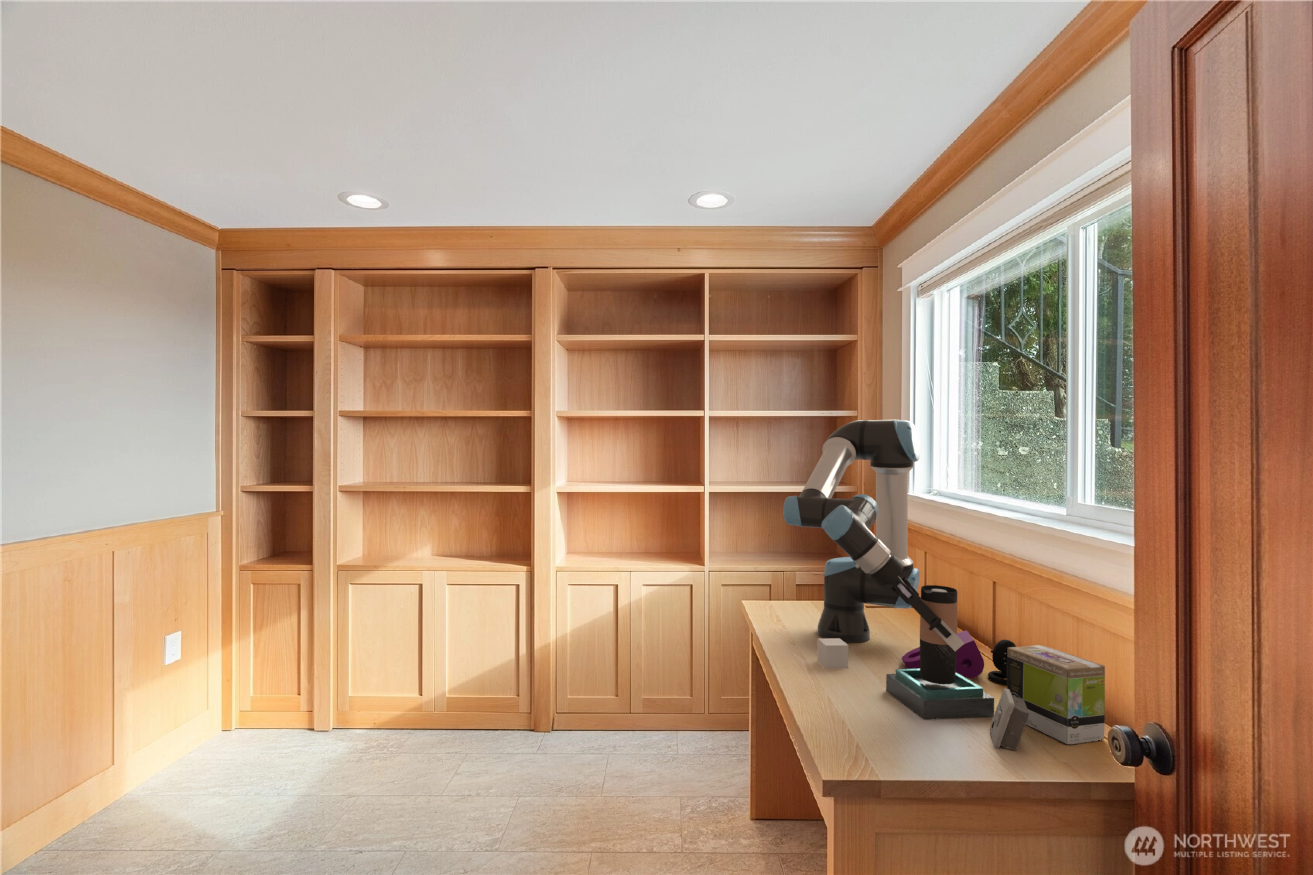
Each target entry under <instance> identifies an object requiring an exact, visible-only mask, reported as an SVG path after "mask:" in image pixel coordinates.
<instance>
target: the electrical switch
mask: <svg viewBox="0 0 1313 875" xmlns="http://www.w3.org/2000/svg"><path fill="white" fill-rule="evenodd" d="M1025 710H1026V711H1025ZM1028 716H1029V712H1028V709H1027V707H1026V704H1025V702H1024V700H1023V699H1020V698H1018V697H1016V696H1014V695H1011V693H1010V690H1009V689H1007V687H1005V688H1004V689H1003V691H1002V693H1001V695H1000V698H999V700H998V703H997V706H996V709H995V710H994V717H992V719H991V722H990V727H989V731H990V736H991V741H992V744H993V747H994V748H996V749H997V750H999V749H1000V747H1001V746H1002V747H1003V748H1005V749H1009V750H1011V751H1014V752H1016V751H1017V749H1018V746H1019V743H1020V741H1021V739H1022V735H1023V732H1024V729H1025V726H1026V722H1027V719H1028Z"/></svg>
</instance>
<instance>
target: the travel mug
mask: <svg viewBox="0 0 1313 875" xmlns="http://www.w3.org/2000/svg"><path fill="white" fill-rule="evenodd" d="M920 588H921V589H920V597H921V600H922V601H923V602H924V603H925V604H926V605H927V606H928V607H929V608H930V609H931V610H932V611H933V612H934V613H935V614H936V615H937V616H938V617H939V618H940V619H942V621H943V622H944V623H945V624H946V625H947V626H948V627H949V628H950V629H951V630H952V631H953V632H954V633H955V634H956V635H957V633H958V590H957V589H956V588H954V587H949V586H944V585H938V584H937V585H936V584H935V585H934V584H932V585H931V584H926V585H922V586H921V587H920ZM933 620H934V619H933ZM933 620H932V621H933ZM928 628H930V625H929V624H928V623H927V622H926V621H925V620H924V619H923V618H922V617H921V616H920V615H919V647H920V668H919V669H920V676H921V678H922V679H923V680H925V681H928V682H931V683H935V684H944V685H946V684H953V683H954V682H955V674H956V655H957V650H956V651H954V650H953V649H952V648H951V647H950V646H949V645H948V644H947V643H946V642H945V641H944V640H943V639H942V638H941V637H940V636H939V635H938V633H937V632H936V631H935V630H934V629H932V630H931V631H930V630H929V629H928Z"/></svg>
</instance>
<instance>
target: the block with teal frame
mask: <svg viewBox="0 0 1313 875" xmlns="http://www.w3.org/2000/svg"><path fill="white" fill-rule="evenodd" d="M885 677H886V678H885V681H886V682H885V686H886V687H885V691H886V693H888V694H889V695H890V696H892V697H893V698H894V699H896V700H897V701H899V703H901V704H902V705H904V707H906V708H907V709H909V710H910V711H911V712H913V713H914V714H916V715H917V716H918V717H919V718H920V719H922V720H923V721H927V720H947V719H948V720H949V719H952V720H953V719H970V718H971V719H972V718H973V719H974V718H993V717H994V714H995V697H994V696H992V695H990V694H989V693H987V692H985V691H984V688H983V687H982V686H981V685H978V684H977V683H975V682H974V681H971V680H970V679H969V678H965V677H963V676H961V675H960V674H958V673H956V674H955V682H954V683H953V684H946V685H944V684H935V683H931V682H928V681H925V680H923V679H922V678H921V676H920V668H919V669H908V668H896V669H895V673H886V675H885Z"/></svg>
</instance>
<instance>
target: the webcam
mask: <svg viewBox="0 0 1313 875" xmlns="http://www.w3.org/2000/svg"><path fill="white" fill-rule="evenodd" d="M1009 647H1017V645H1016V644H1015V642H1013V641H1011V640H1009V639H1001V640H999V641H998V642H997V643H996V644H995V645H994V647H993V649H990V653H991V656H992V657H991V658H992V663H993V665H994V667H995V669H997V670H991V671H989V672H988V673H987V678H988V679H989V680H990V681H991V682H994V683H995V684H998V685H1003V686H1007V648H1009Z"/></svg>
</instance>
